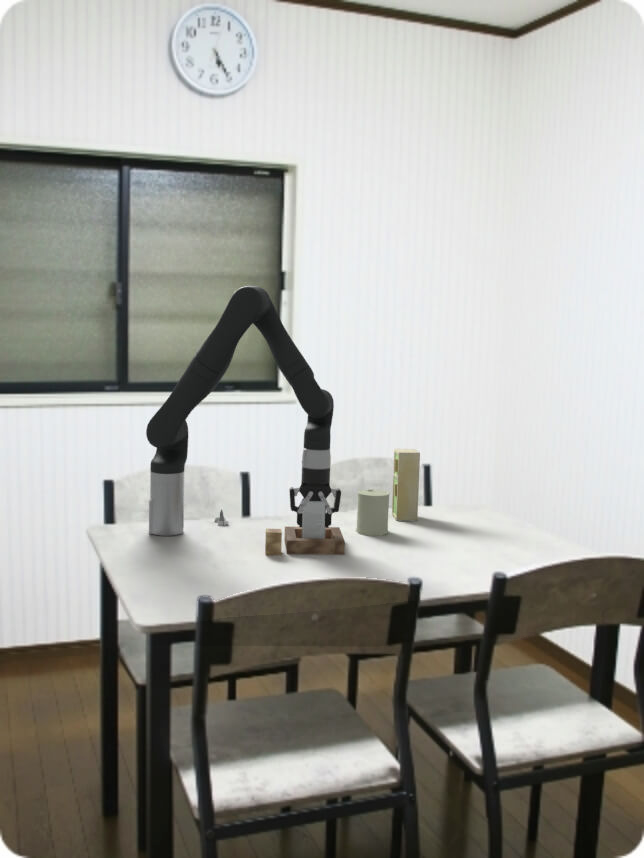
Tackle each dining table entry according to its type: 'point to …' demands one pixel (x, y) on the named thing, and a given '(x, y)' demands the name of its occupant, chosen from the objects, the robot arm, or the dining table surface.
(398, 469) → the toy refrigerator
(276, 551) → the short oak peg
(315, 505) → the skincare box
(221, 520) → the grey spired figurine
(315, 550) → the brown wooden square frame
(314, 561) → the dining table surface
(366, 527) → the can
